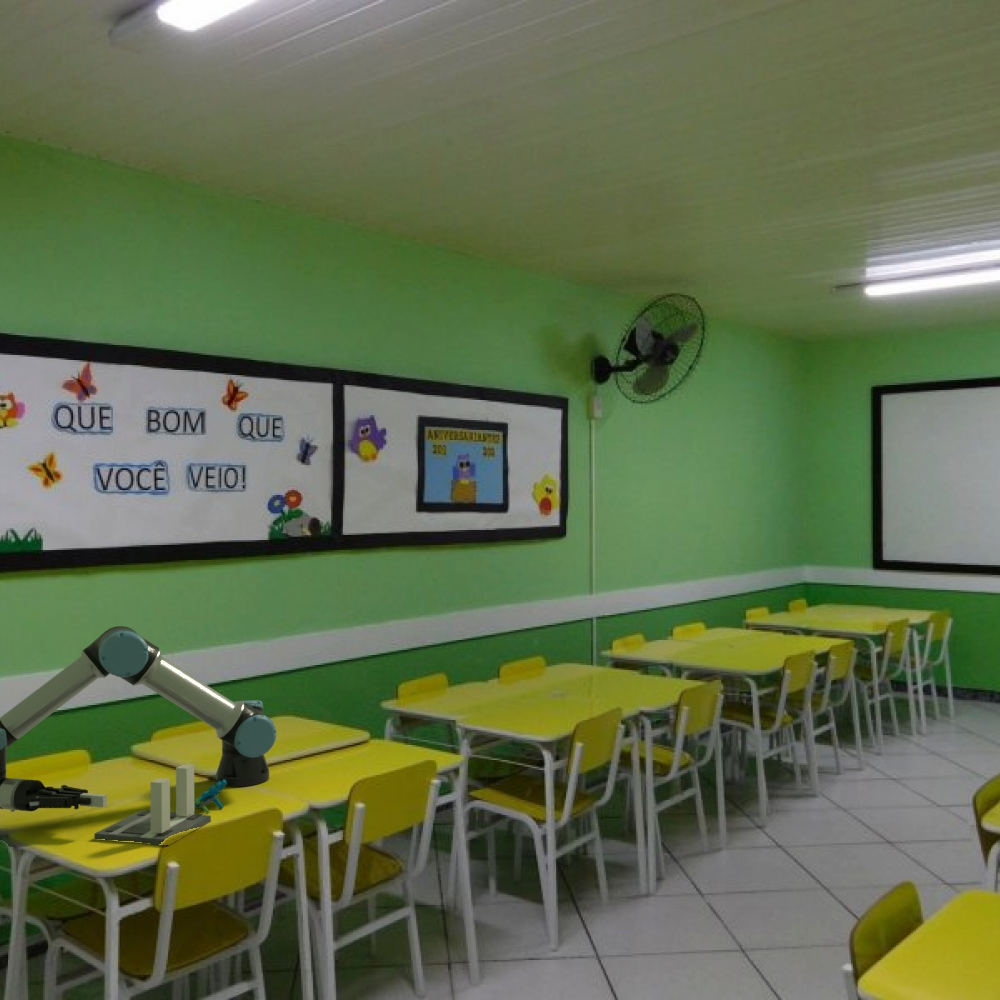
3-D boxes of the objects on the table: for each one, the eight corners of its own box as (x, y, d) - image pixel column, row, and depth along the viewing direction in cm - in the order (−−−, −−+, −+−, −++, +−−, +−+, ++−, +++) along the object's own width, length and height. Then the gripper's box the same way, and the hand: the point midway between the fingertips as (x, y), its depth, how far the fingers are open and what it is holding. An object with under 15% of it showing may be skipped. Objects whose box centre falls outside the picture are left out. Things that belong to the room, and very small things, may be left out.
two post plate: (94, 839, 240) (94, 780, 240) (141, 816, 258) (141, 761, 258) (168, 846, 235) (167, 786, 235) (210, 821, 253) (210, 765, 253)
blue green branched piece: (212, 794, 272) (230, 772, 268) (226, 811, 270) (243, 789, 266) (183, 811, 262) (200, 788, 258) (196, 828, 261) (214, 806, 257)
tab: (150, 832, 239) (150, 782, 239) (159, 827, 242) (158, 778, 242) (161, 833, 238) (161, 782, 238) (170, 828, 241) (169, 778, 241)
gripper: (40, 802, 256) (121, 808, 250) (3, 817, 243) (87, 824, 237) (40, 773, 256) (121, 778, 250) (3, 786, 243) (87, 793, 237)
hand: (104, 801), depth 244 cm, fingers closed
